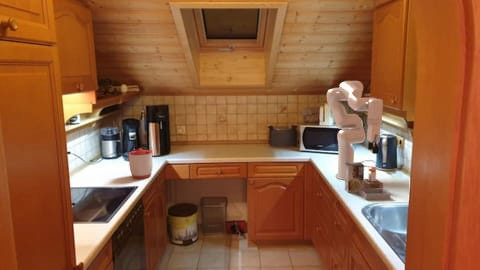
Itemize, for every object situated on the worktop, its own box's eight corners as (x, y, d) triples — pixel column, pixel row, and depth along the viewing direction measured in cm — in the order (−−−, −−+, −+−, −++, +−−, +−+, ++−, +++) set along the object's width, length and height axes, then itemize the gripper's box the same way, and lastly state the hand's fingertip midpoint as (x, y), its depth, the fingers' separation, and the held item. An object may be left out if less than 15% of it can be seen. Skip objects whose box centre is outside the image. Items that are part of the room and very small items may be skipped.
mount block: (361, 187, 223) (361, 179, 223) (376, 187, 224) (376, 178, 223) (366, 192, 214) (367, 183, 214) (382, 191, 215) (382, 183, 214)
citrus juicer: (130, 174, 263) (128, 145, 260) (155, 173, 264) (154, 145, 260) (124, 180, 248) (122, 150, 245) (150, 179, 248) (149, 149, 245)
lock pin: (367, 188, 221) (367, 167, 219) (373, 188, 221) (374, 166, 219) (369, 190, 217) (370, 168, 215) (376, 190, 217) (377, 168, 215)
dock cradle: (359, 194, 211) (359, 188, 211) (382, 193, 212) (382, 188, 211) (365, 199, 201) (365, 194, 201) (389, 199, 202) (389, 193, 201)
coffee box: (359, 189, 220) (360, 162, 218) (363, 192, 214) (364, 164, 212) (344, 189, 220) (344, 162, 218) (347, 192, 214) (348, 165, 211)
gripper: (364, 119, 219) (362, 148, 222) (371, 123, 202) (370, 155, 205) (377, 119, 218) (375, 148, 221) (386, 123, 201) (384, 155, 204)
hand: (373, 151), depth 213 cm, fingers open, 9 cm apart
